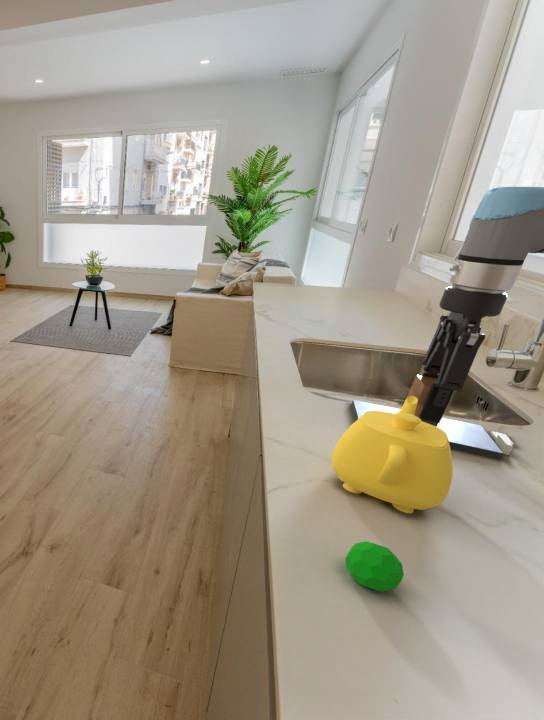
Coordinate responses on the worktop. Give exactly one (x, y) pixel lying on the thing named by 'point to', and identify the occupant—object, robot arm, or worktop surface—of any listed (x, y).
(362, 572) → the polyhedron
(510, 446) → the white small block
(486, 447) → the slate board
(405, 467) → the teapot
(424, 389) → the brown block
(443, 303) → the robot arm
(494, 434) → the white flat block
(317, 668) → the worktop surface
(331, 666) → the worktop surface
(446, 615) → the worktop surface
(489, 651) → the worktop surface
